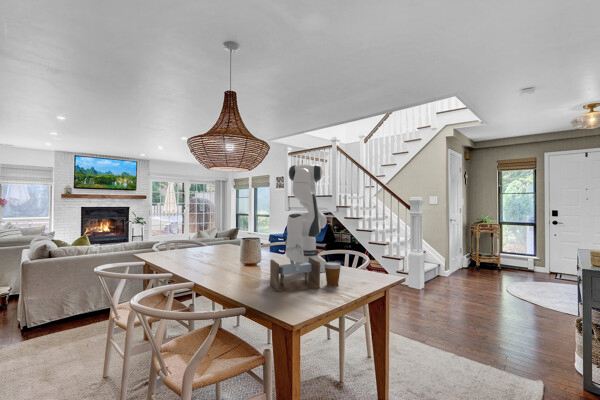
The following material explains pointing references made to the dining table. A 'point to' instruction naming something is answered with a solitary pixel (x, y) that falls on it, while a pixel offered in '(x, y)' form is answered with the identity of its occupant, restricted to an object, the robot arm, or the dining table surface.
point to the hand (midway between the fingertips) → (294, 268)
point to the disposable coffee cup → (332, 273)
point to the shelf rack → (309, 280)
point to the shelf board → (294, 268)
